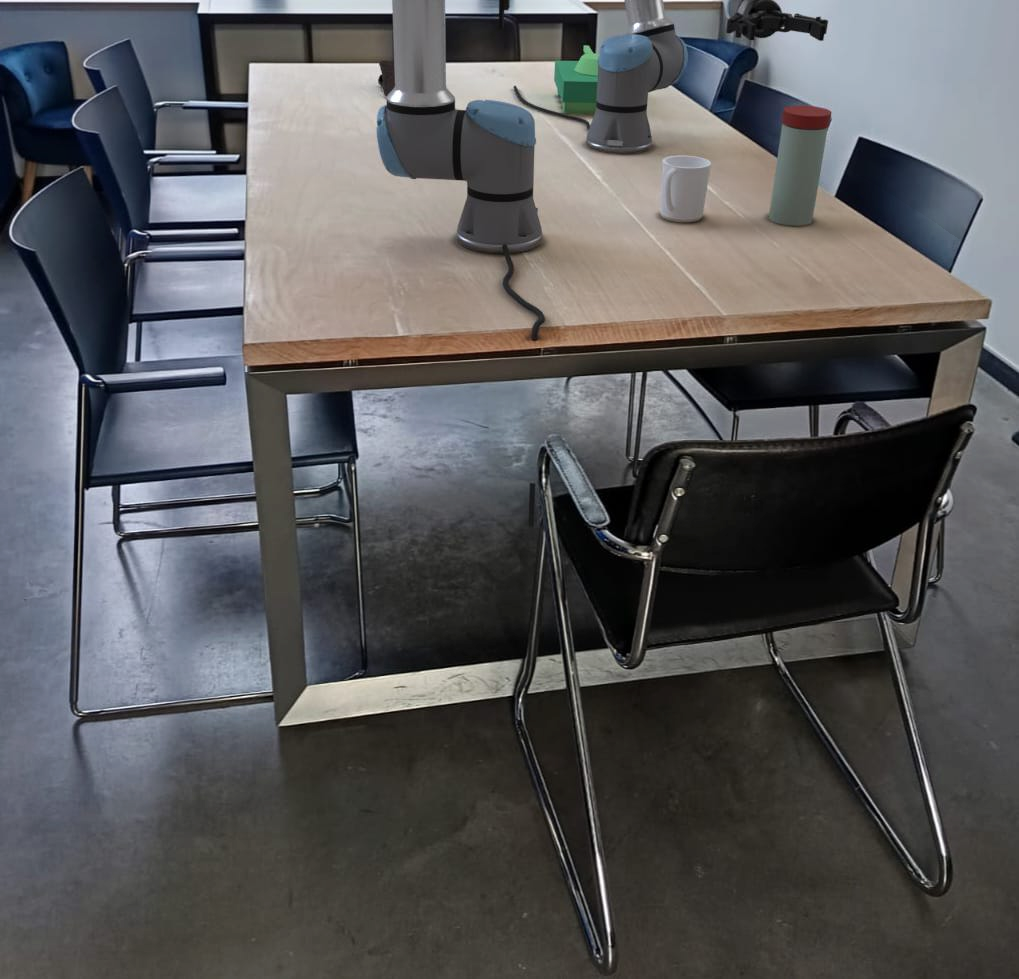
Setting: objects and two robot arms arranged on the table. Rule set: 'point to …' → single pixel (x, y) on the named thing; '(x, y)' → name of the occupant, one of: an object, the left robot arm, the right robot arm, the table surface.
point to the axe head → (387, 76)
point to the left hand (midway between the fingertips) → (468, 26)
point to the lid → (806, 117)
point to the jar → (797, 175)
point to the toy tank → (578, 83)
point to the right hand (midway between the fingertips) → (787, 33)
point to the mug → (684, 188)
